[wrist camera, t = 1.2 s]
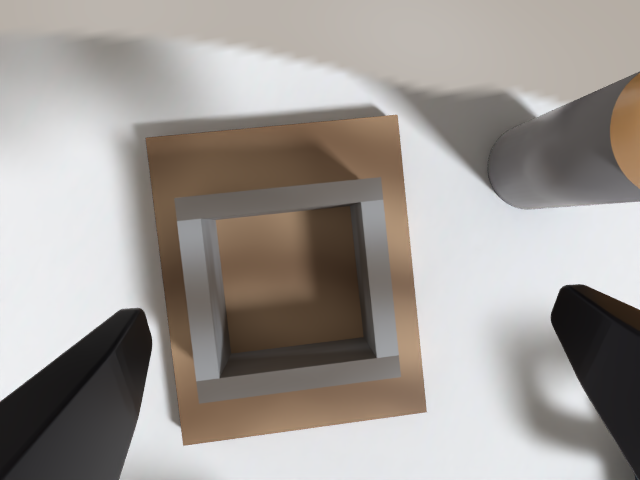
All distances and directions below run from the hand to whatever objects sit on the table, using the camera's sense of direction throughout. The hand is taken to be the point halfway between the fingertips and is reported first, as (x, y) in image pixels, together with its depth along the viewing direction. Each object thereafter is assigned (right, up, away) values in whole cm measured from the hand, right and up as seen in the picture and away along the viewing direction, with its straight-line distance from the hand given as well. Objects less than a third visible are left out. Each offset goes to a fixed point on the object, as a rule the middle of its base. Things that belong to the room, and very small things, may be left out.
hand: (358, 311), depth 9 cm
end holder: (-2, -1, +14) cm, 14 cm away
